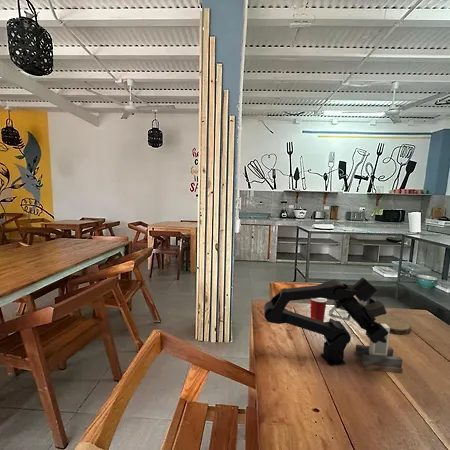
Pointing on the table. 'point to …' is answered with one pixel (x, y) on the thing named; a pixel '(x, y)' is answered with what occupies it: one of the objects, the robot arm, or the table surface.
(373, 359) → the display ledge
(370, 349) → the cream slab
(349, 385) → the table surface
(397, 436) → the table surface
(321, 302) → the paper cup
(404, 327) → the brown round disc
